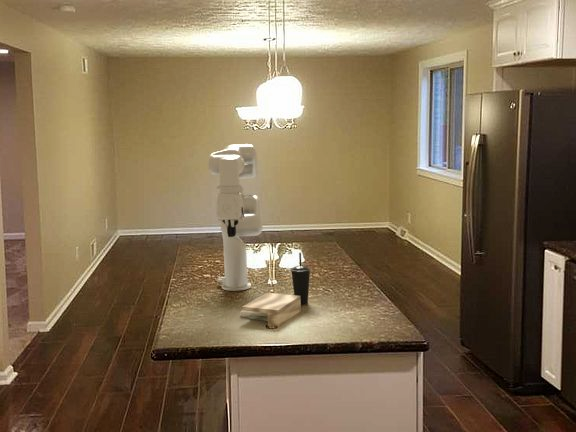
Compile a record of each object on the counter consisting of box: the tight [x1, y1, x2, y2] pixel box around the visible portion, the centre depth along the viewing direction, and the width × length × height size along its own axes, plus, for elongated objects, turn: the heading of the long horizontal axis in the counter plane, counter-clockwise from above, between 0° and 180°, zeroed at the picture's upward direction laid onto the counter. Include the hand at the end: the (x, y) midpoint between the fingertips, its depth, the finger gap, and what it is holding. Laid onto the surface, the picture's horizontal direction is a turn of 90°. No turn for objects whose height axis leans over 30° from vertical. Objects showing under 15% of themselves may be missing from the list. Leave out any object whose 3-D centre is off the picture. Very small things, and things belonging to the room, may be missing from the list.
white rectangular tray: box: [239, 310, 268, 319], centre depth 264 cm, size 14×7×2 cm, turn 69°
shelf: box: [241, 292, 302, 328], centre depth 261 cm, size 14×20×6 cm
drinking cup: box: [290, 252, 311, 306], centre depth 277 cm, size 8×8×20 cm
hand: (231, 236), depth 279 cm, fingers closed
